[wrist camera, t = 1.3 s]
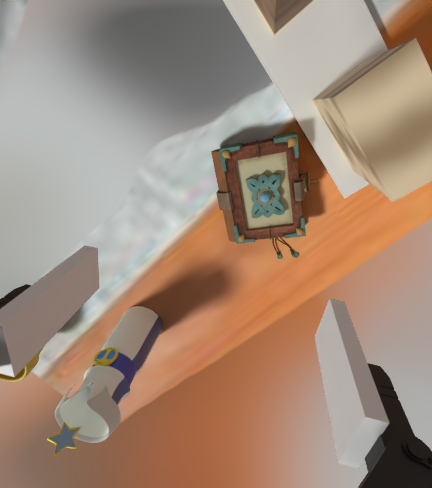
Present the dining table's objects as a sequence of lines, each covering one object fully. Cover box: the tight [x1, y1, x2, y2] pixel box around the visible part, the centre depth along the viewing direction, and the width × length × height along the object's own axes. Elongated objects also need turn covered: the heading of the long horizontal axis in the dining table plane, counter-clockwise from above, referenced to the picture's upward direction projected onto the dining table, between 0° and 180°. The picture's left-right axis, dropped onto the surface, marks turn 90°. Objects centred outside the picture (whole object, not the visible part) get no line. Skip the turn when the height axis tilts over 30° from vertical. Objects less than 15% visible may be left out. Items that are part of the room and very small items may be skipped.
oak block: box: [312, 38, 432, 202], centre depth 28 cm, size 10×6×13 cm, turn 37°
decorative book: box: [212, 132, 319, 259], centre depth 39 cm, size 13×18×5 cm
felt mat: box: [223, 0, 388, 198], centre depth 32 cm, size 33×11×1 cm, turn 37°
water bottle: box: [47, 306, 163, 456], centre depth 43 cm, size 8×8×25 cm
